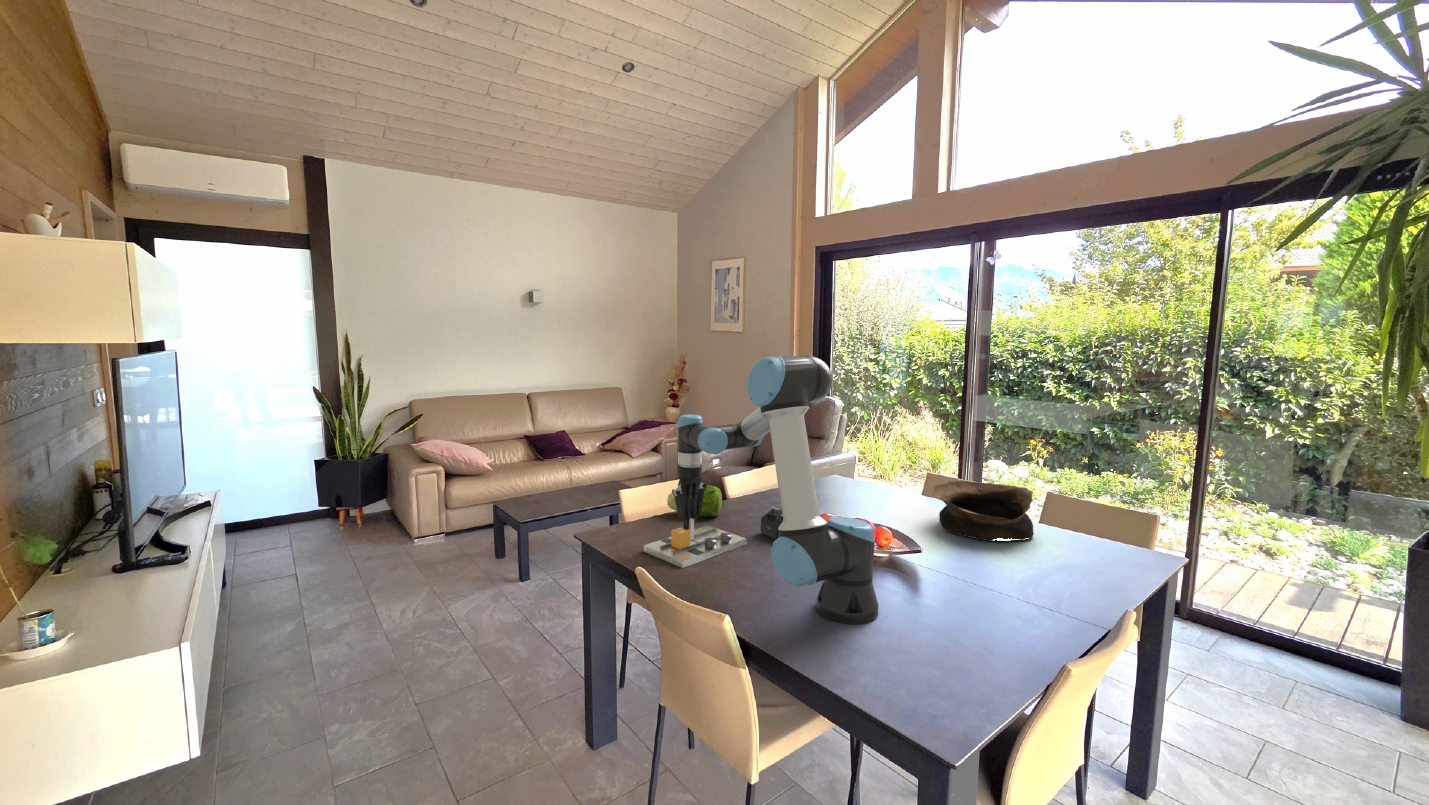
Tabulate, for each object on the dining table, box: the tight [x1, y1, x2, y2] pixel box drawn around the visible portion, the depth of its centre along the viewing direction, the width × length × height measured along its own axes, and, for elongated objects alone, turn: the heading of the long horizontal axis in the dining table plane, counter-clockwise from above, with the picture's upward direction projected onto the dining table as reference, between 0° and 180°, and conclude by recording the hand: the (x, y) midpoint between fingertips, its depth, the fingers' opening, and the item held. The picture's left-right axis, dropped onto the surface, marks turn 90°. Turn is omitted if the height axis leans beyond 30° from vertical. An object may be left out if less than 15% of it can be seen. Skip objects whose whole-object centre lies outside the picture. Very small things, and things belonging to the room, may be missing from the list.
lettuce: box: [666, 484, 723, 517], centre depth 227 cm, size 12×21×11 cm, turn 86°
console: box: [643, 524, 748, 569], centre depth 193 cm, size 18×28×4 cm, turn 135°
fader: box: [670, 527, 690, 549], centre depth 188 cm, size 4×4×5 cm
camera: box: [760, 506, 783, 540], centre depth 204 cm, size 13×10×10 cm
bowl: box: [931, 480, 1034, 542], centre depth 214 cm, size 34×33×15 cm
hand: (689, 538), depth 191 cm, fingers closed
